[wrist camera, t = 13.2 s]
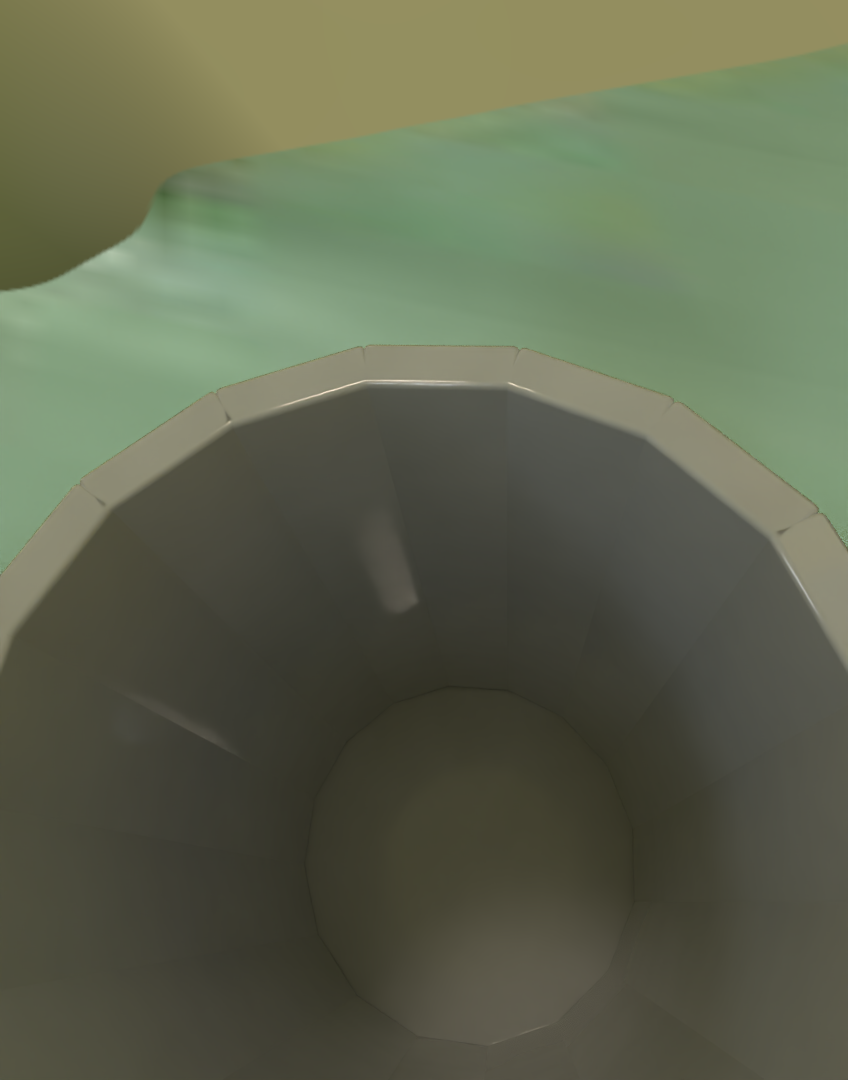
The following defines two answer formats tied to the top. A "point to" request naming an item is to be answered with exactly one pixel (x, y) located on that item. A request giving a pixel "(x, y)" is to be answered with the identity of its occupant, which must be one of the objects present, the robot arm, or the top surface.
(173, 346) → the top surface
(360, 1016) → the cup
